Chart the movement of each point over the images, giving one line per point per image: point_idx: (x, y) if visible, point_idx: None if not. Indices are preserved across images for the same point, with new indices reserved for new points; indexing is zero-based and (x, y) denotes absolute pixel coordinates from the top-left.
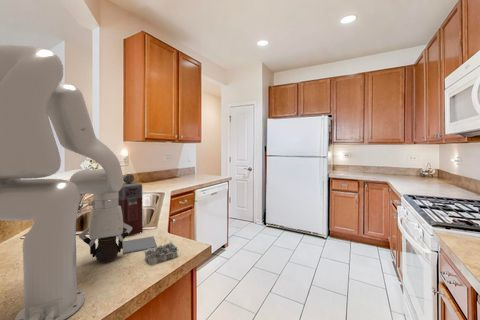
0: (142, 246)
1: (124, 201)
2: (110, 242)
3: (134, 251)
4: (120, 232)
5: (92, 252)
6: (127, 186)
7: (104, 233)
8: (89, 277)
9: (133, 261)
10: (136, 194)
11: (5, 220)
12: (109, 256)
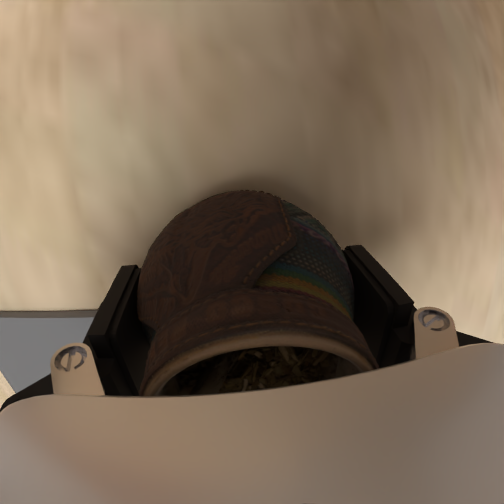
0: (41, 353)
1: None
2: (197, 310)
3: (68, 313)
4: (1, 423)
5: (379, 265)
6: None
7: (344, 460)
8: (330, 14)
9: (40, 154)
10: None
11: None
12: (211, 199)
